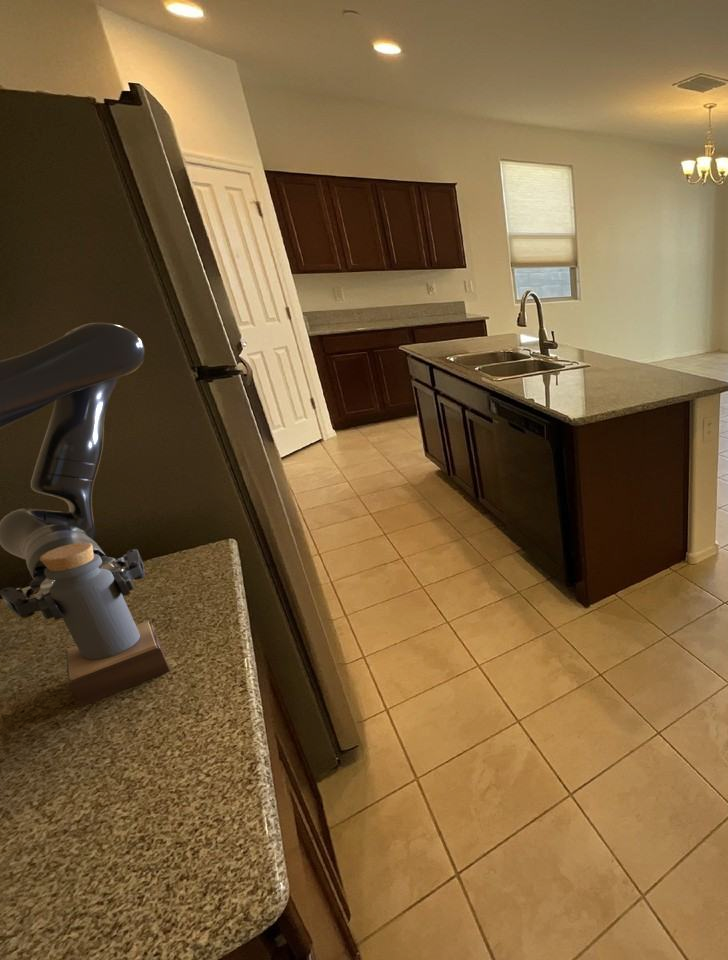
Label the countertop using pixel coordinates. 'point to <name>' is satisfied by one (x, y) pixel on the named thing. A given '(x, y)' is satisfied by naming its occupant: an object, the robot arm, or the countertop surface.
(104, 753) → the countertop surface
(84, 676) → the stand
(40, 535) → the robot arm
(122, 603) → the bottle
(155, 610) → the countertop surface
